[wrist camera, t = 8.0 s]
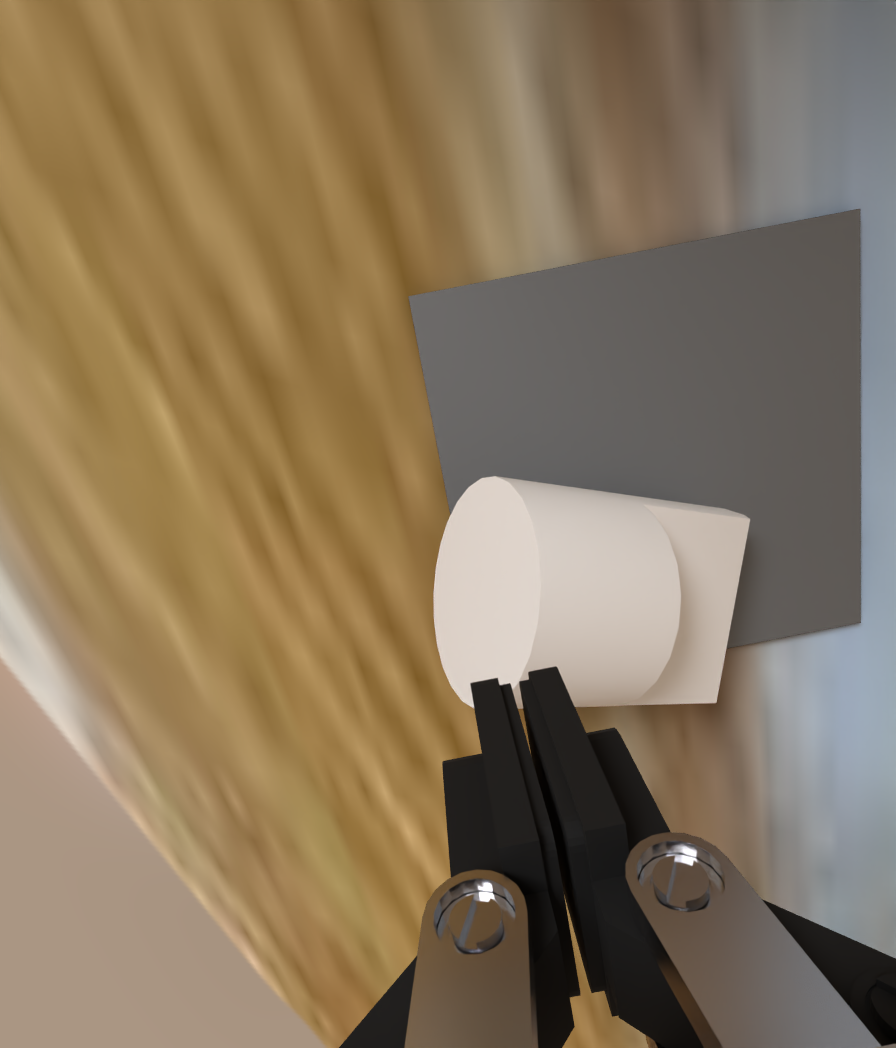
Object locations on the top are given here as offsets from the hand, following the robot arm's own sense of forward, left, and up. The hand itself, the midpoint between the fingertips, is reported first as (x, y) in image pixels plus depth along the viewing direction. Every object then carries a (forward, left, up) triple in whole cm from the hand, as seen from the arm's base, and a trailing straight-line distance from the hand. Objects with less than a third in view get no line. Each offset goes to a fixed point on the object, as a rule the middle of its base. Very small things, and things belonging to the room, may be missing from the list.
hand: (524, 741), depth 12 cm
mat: (+1, +10, -20) cm, 22 cm away
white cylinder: (+2, 0, -13) cm, 13 cm away
